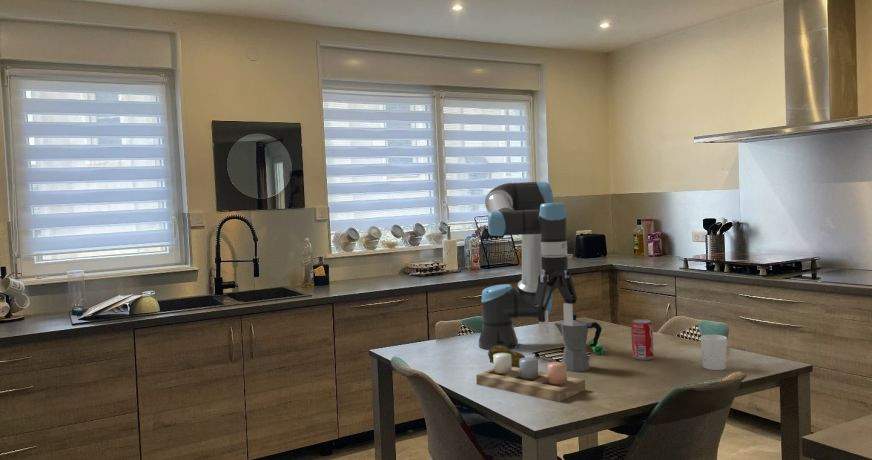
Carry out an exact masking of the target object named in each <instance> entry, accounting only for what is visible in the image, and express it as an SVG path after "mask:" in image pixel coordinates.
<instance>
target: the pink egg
mask: <svg viewBox="0 0 872 460" xmlns="http://www.w3.org/2000/svg"><path fill="white" fill-rule="evenodd" d="M546 365H547V366H546V369H547V371H546V373H547V374H548V382H549V383H552V384H563V383H566V382H567V377H568V371H567V364H566V363H563V362H561V361H550V362H548V363H547V364H546Z"/></svg>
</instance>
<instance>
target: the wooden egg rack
mask: <svg viewBox="0 0 872 460" xmlns="http://www.w3.org/2000/svg"><path fill="white" fill-rule="evenodd" d="M475 379H476V381H475V382H476V385H478V386H483V387H488V388H494V389H498V390H502V391H507V392H512V393H516V394H521V395H525V396H526V395H527V396H530V397H535V398H540V399H544V400H550V401H554V402H559V403H560V402H562V401H564V400H566V399H569V398H570V397H572V396H575V395H577V394H579V393H582V392H584V391H586V379H583V378H578V377H577V378H576V377H571V376H567V382H566V383H563V384H552V383H549V382H548V374H547V372H545V371H544V372H543V371H540V370H538V377H536V378H522V377H520V368H517V367H512V371H511V372H509V373H496V372H494V368H491V369H488V370H485V371H483V372H479V373H477V374H476V375H475Z"/></svg>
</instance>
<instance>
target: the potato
mask: <svg viewBox="0 0 872 460" xmlns="http://www.w3.org/2000/svg"><path fill="white" fill-rule="evenodd" d="M497 353H508V354H511V364H512V367H517V368H520V365H519V359H521V358H525V357H526V356H525V355H524V354H523V353H521V352H519V351H515V350H512V349H508V348H507V347H504V346H494V347H492V348H490V350H488V353H487V356H488V359H489V363H492V364H493V365H494V363H493V355H494V354H497Z"/></svg>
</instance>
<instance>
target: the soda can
mask: <svg viewBox="0 0 872 460" xmlns="http://www.w3.org/2000/svg"><path fill="white" fill-rule="evenodd" d="M653 327H654V326H653V324H652V320H650V319H645V318H643V319H641V318H640V319H634V320H632V323H631V355H632V357H633V358H634V359H635V360H639V361H650V360H652V359H653V357H654V356H655V353H654V331H653V330H654V329H653Z"/></svg>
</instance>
